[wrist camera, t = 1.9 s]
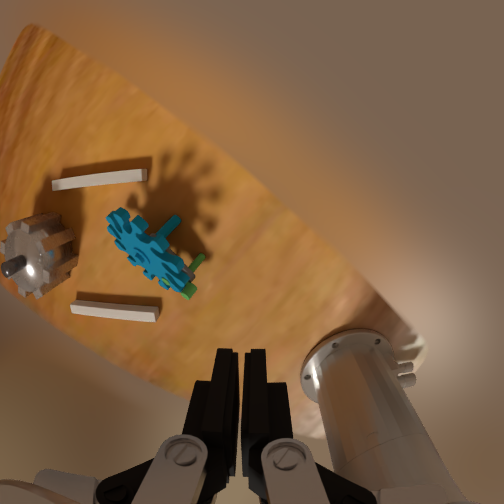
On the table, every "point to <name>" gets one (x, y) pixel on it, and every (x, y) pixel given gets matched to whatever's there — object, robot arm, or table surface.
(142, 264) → the gear
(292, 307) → the table surface
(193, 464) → the robot arm
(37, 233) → the sun gear
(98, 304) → the guide rails
